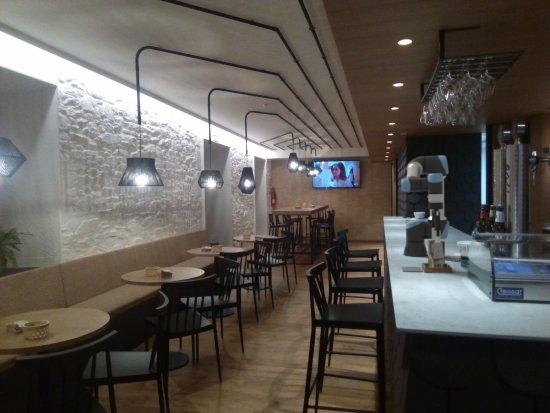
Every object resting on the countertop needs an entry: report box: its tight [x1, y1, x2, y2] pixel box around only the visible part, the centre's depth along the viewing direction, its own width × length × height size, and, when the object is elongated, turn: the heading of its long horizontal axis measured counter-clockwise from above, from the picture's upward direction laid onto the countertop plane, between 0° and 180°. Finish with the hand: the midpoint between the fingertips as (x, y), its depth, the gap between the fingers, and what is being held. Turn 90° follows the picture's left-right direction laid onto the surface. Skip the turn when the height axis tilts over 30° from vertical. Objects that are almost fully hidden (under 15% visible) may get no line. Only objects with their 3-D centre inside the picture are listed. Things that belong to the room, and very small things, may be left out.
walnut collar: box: [421, 262, 453, 274], centre depth 234 cm, size 14×14×2 cm
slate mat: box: [401, 266, 423, 273], centre depth 237 cm, size 12×10×1 cm
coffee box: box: [427, 239, 446, 268], centre depth 233 cm, size 9×6×16 cm
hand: (436, 241), depth 233 cm, fingers open, 13 cm apart
